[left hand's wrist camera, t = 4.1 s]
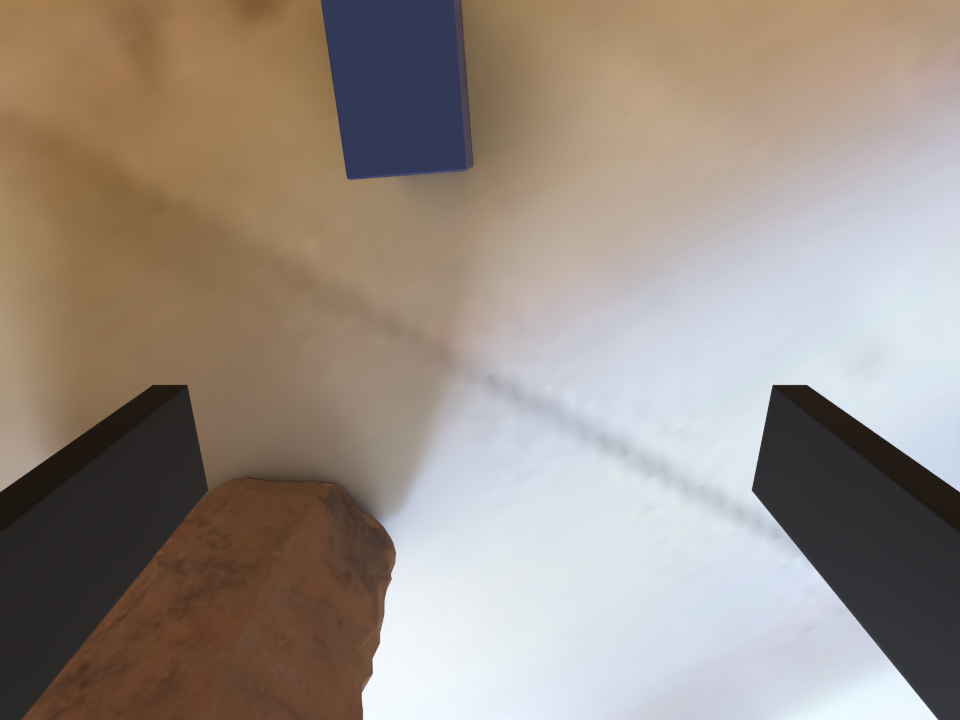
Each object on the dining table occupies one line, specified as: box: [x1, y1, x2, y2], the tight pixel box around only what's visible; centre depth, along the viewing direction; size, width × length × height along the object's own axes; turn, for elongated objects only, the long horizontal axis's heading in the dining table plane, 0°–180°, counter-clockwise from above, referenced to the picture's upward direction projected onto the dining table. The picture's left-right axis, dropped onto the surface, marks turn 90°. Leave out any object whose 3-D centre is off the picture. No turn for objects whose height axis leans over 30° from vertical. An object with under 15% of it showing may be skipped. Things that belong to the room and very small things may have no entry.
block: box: [321, 0, 473, 180], centre depth 21 cm, size 4×8×10 cm, turn 4°
